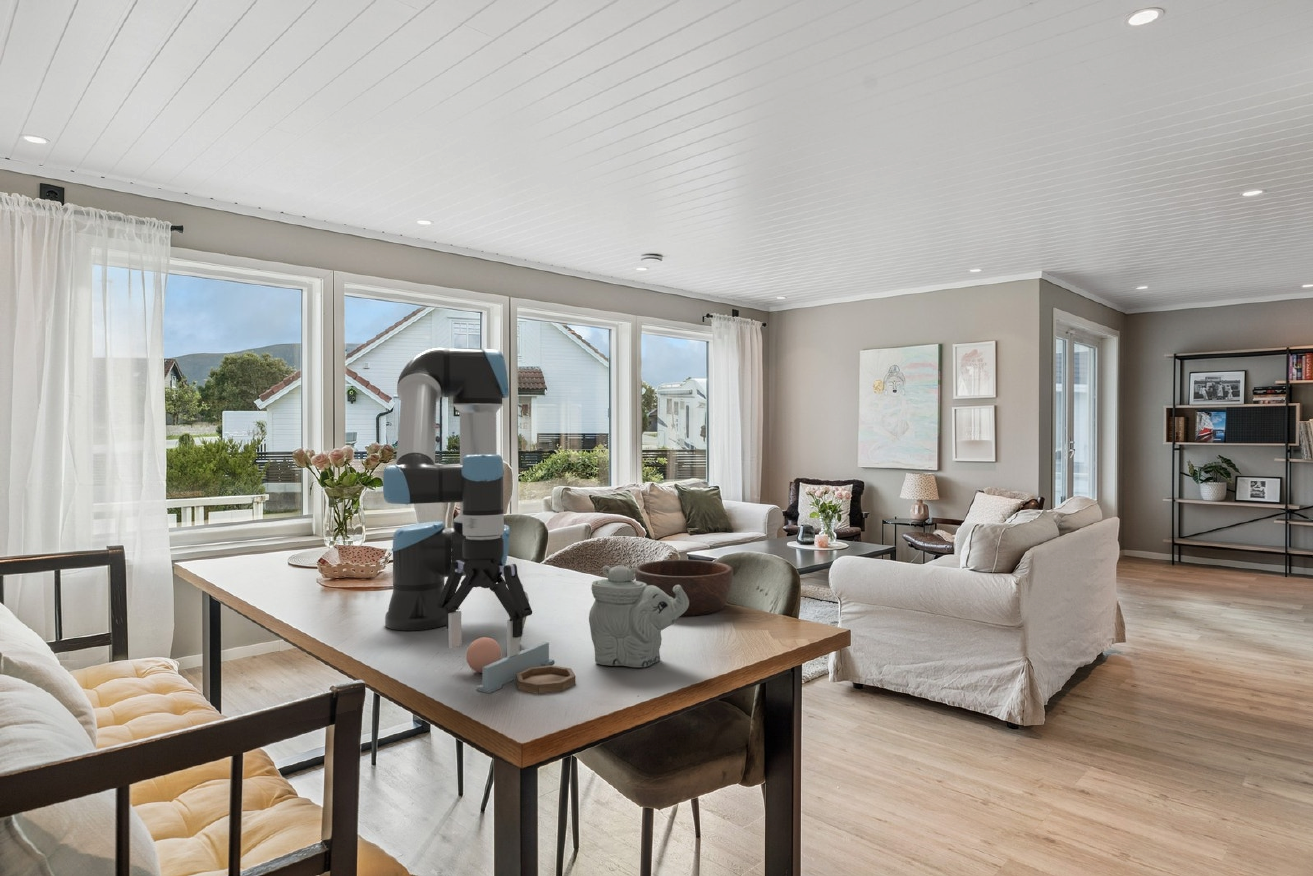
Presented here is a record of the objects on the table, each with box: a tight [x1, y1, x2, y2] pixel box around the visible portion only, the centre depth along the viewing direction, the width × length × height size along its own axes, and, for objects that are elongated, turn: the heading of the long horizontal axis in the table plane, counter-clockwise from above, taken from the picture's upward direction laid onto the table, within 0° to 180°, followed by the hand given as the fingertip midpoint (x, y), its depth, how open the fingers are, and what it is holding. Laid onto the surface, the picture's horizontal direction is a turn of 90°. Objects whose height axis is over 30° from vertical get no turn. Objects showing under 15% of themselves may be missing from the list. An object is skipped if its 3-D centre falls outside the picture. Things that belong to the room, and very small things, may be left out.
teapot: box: [588, 564, 689, 668], centre depth 147 cm, size 16×15×19 cm
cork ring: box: [515, 665, 577, 694], centre depth 135 cm, size 10×10×2 cm
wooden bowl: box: [634, 559, 734, 617], centre depth 193 cm, size 25×25×10 cm
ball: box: [465, 636, 502, 674], centre depth 142 cm, size 6×6×6 cm
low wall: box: [476, 641, 555, 694], centre depth 139 cm, size 3×19×4 cm, turn 153°
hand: (483, 651), depth 141 cm, fingers open, 13 cm apart
